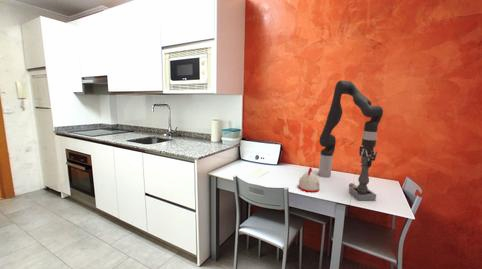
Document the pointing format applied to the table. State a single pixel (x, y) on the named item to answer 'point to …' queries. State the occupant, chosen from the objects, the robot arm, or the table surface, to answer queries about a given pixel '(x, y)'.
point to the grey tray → (361, 197)
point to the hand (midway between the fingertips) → (365, 164)
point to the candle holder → (363, 176)
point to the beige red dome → (309, 182)
